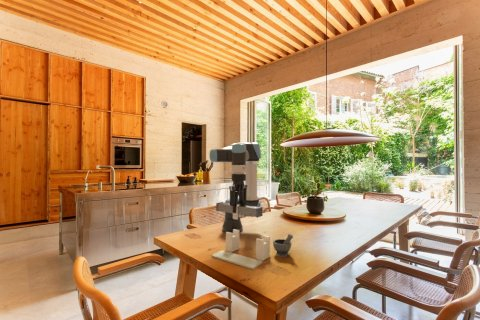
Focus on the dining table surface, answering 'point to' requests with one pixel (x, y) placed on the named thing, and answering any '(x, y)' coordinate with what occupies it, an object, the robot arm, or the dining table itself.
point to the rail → (240, 209)
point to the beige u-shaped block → (263, 248)
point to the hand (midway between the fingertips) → (238, 218)
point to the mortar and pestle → (282, 246)
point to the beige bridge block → (232, 240)
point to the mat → (237, 259)
